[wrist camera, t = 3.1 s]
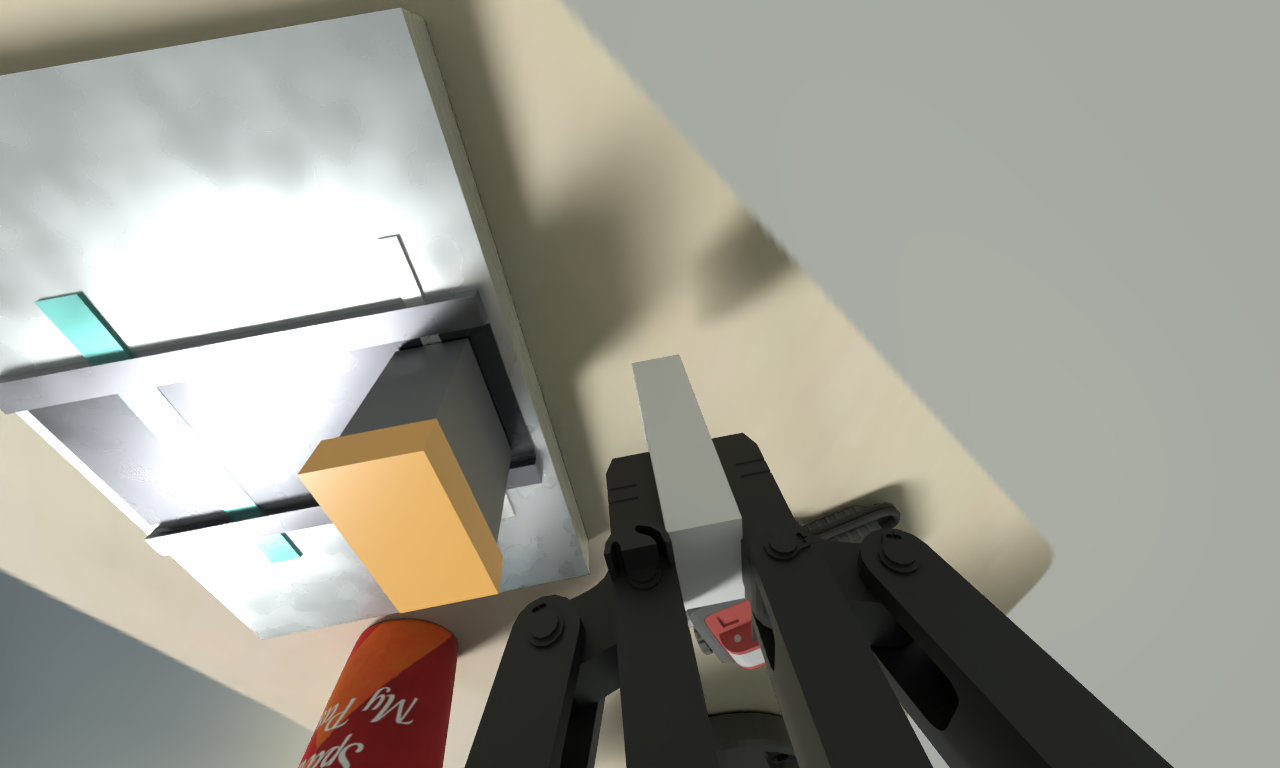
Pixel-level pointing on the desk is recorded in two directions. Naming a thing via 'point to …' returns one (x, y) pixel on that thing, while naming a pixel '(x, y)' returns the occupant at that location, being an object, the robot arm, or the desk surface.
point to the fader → (420, 479)
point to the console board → (256, 296)
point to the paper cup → (389, 700)
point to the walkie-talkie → (731, 620)
